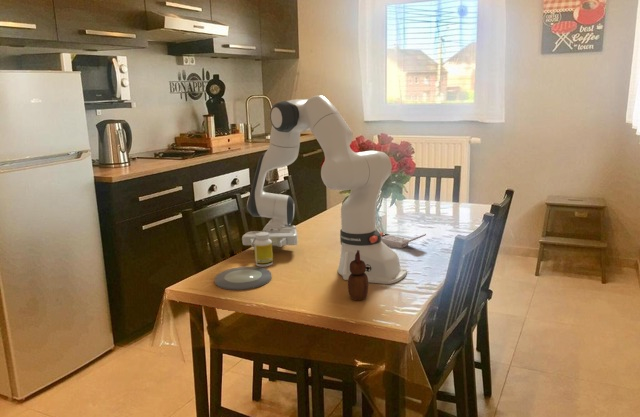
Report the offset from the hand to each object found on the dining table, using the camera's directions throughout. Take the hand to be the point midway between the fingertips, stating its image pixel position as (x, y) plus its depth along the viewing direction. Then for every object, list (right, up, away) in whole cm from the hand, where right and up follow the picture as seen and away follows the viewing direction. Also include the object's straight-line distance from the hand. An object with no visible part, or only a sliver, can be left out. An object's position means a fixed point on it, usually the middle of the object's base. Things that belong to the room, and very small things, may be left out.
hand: (266, 244), depth 188 cm
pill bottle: (0, -7, -2) cm, 7 cm away
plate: (-6, -10, -16) cm, 20 cm away
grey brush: (+47, -1, +15) cm, 49 cm away
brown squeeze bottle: (+30, -13, -34) cm, 48 cm away
